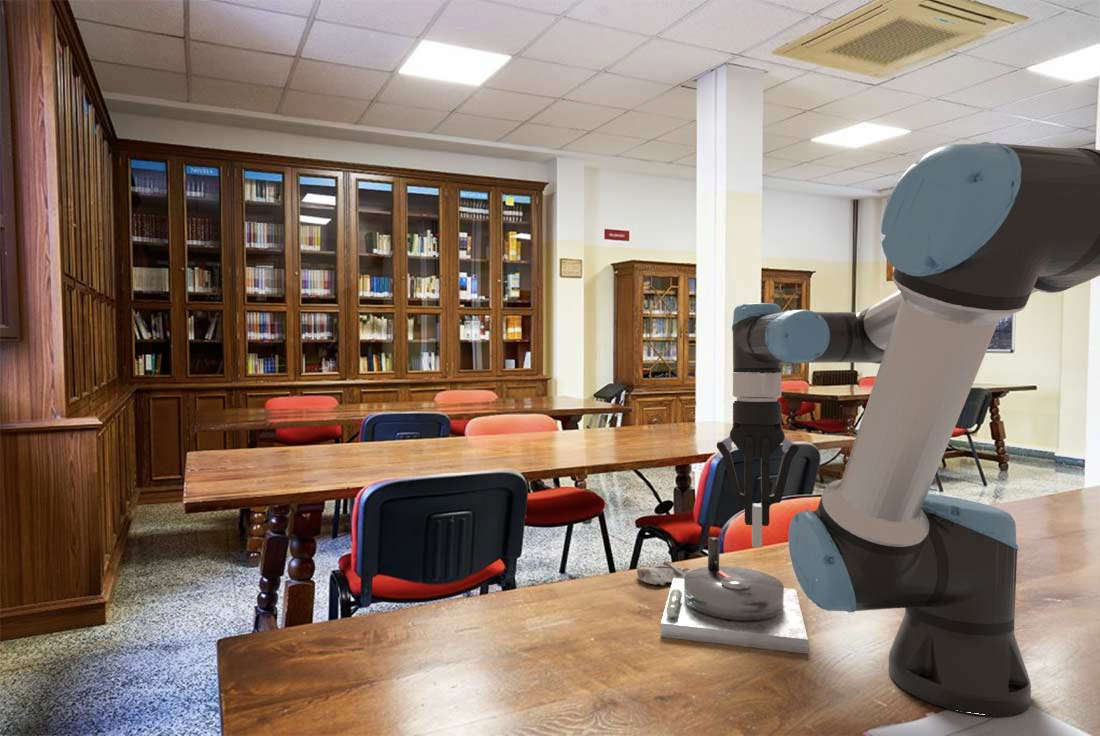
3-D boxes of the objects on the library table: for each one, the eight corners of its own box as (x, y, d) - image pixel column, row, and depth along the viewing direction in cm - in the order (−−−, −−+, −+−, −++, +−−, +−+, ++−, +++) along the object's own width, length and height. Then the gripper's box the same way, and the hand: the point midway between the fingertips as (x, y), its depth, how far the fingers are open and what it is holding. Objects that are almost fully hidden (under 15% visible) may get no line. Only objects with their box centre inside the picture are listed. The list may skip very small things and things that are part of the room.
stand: (807, 653, 93) (808, 626, 93) (660, 636, 98) (661, 610, 98) (795, 601, 112) (795, 578, 112) (673, 589, 117) (673, 567, 117)
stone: (673, 571, 127) (674, 557, 127) (698, 583, 121) (698, 568, 121) (630, 578, 123) (630, 564, 123) (653, 591, 117) (653, 576, 117)
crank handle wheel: (801, 601, 106) (801, 550, 105) (751, 629, 95) (752, 572, 95) (717, 577, 116) (718, 531, 116) (664, 599, 106) (665, 549, 106)
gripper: (797, 399, 111) (797, 542, 111) (715, 398, 115) (716, 536, 115) (802, 401, 104) (801, 554, 104) (714, 400, 107) (714, 548, 108)
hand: (756, 545), depth 109 cm, fingers closed
